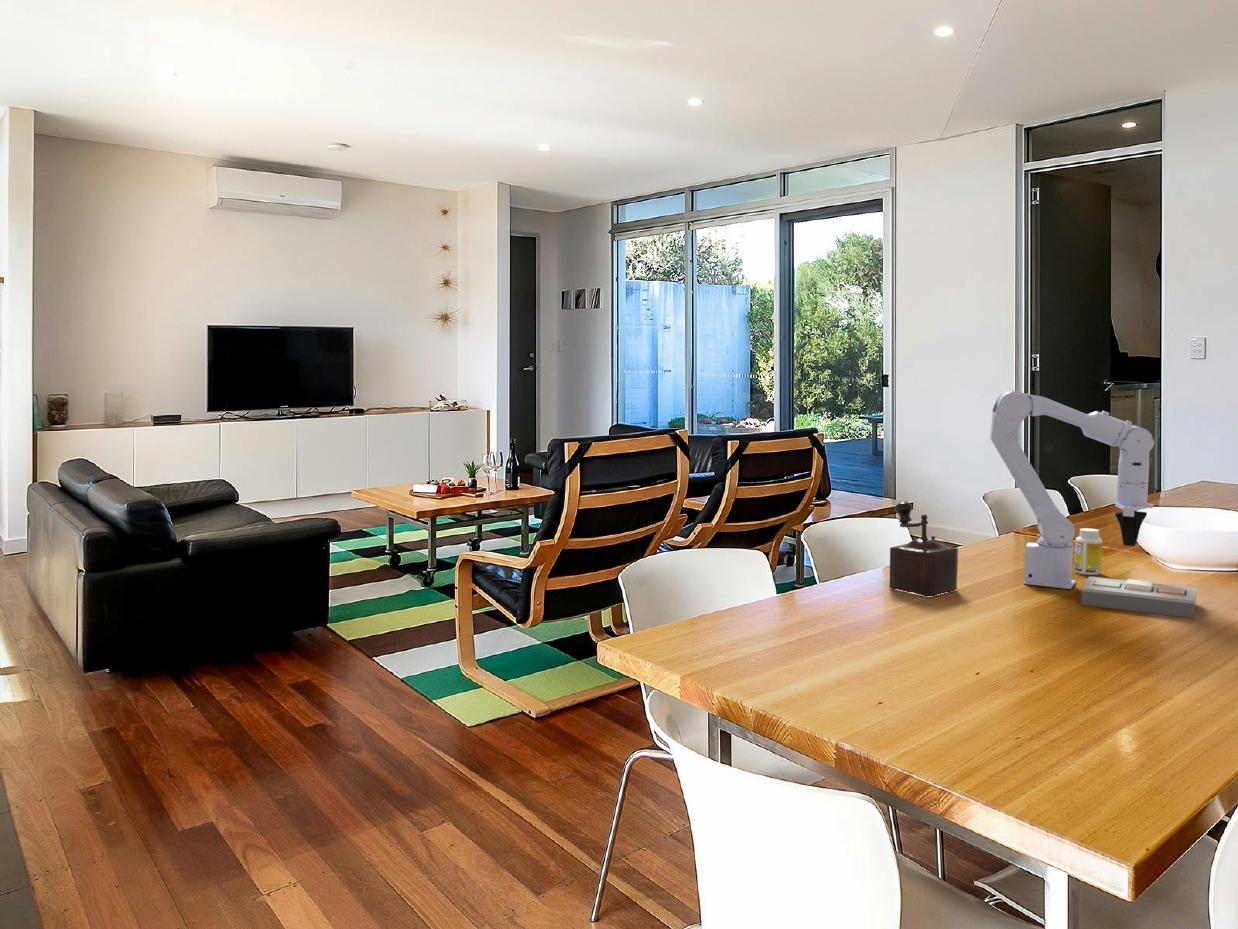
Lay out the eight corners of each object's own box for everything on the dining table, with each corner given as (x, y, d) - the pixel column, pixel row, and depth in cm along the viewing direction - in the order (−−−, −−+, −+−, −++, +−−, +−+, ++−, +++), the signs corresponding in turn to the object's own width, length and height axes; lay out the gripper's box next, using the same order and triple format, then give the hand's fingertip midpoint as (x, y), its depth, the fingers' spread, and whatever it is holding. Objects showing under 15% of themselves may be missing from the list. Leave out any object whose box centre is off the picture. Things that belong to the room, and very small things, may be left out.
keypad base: (1081, 604, 183) (1081, 588, 183) (1088, 592, 193) (1089, 576, 193) (1193, 618, 172) (1194, 600, 172) (1195, 604, 182) (1196, 587, 182)
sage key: (1093, 594, 185) (1094, 583, 185) (1096, 590, 189) (1096, 579, 188) (1118, 597, 183) (1118, 586, 182) (1120, 592, 186) (1120, 582, 186)
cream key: (1125, 594, 182) (1125, 583, 182) (1127, 589, 185) (1127, 579, 185) (1150, 597, 179) (1151, 586, 179) (1152, 592, 183) (1152, 581, 183)
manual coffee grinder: (960, 590, 195) (963, 507, 193) (929, 598, 189) (931, 513, 187) (900, 577, 208) (902, 499, 206) (868, 584, 201) (870, 504, 199)
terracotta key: (1157, 601, 179) (1158, 590, 179) (1158, 597, 182) (1159, 586, 182) (1183, 604, 176) (1184, 593, 176) (1184, 600, 180) (1185, 589, 180)
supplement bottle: (1105, 573, 210) (1107, 529, 209) (1094, 577, 207) (1096, 532, 206) (1080, 569, 215) (1082, 526, 214) (1069, 572, 211) (1071, 529, 210)
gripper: (1152, 487, 185) (1148, 553, 187) (1156, 480, 197) (1153, 541, 199) (1113, 485, 189) (1109, 549, 191) (1119, 478, 201) (1116, 538, 203)
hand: (1129, 545), depth 195 cm, fingers closed
